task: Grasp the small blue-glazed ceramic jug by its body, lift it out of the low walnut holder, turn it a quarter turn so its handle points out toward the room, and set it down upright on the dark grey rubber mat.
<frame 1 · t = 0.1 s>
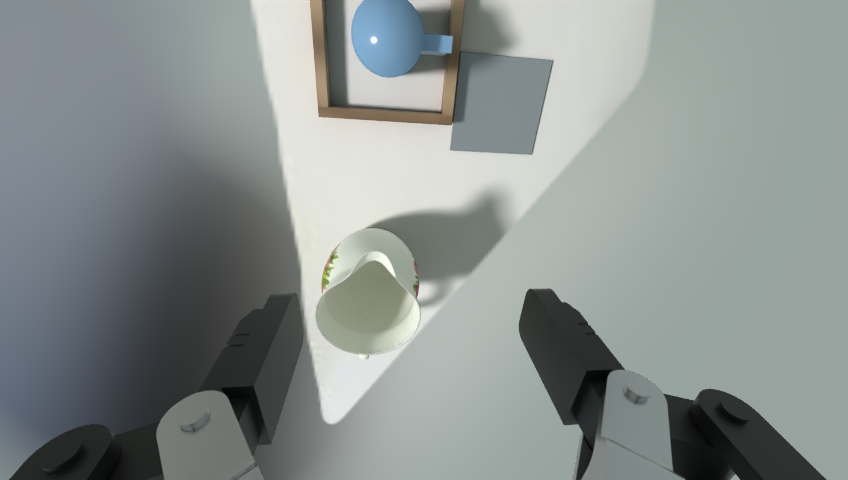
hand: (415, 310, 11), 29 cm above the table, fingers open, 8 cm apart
pitcher: (373, 257, 44), on the table
mat: (498, 107, 36), on the table
holder: (388, 45, 32), on the table
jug: (402, 43, 28), in the holder
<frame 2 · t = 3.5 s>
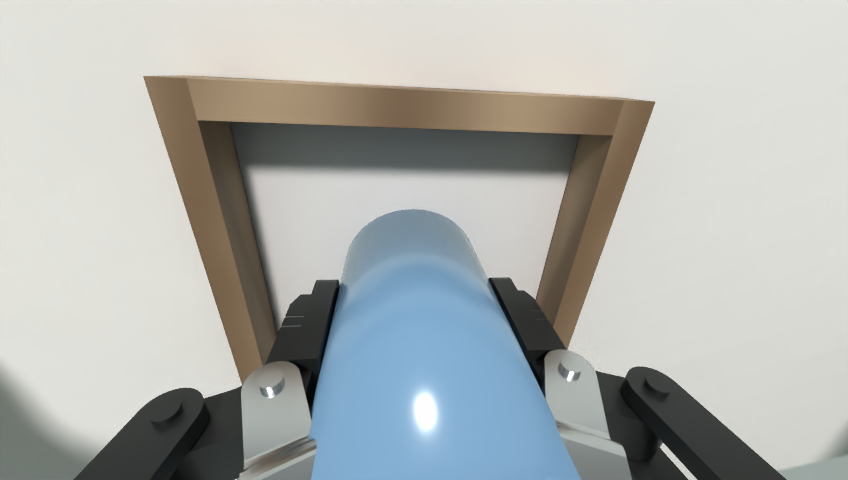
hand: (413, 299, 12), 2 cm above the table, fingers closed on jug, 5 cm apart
holder: (410, 269, 14), on the table
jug: (418, 378, 10), in the holder, touching gripper
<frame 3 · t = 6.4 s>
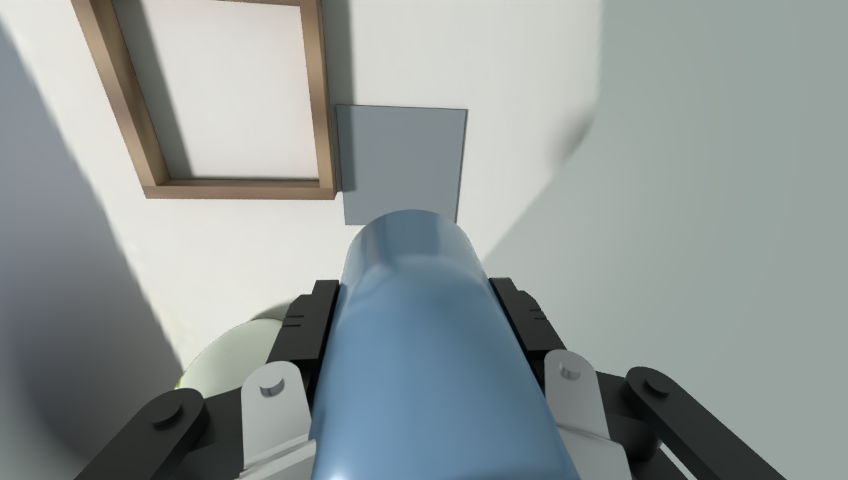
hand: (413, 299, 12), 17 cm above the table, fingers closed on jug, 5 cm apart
pitcher: (271, 346, 35), on the table
mat: (401, 170, 27), on the table
holder: (231, 100, 23), on the table
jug: (418, 378, 10), point 20 cm above the table, touching gripper
when the fingers open (4 cm above the table, at t = 9.8 s): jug drops 1 cm, resting on mat.
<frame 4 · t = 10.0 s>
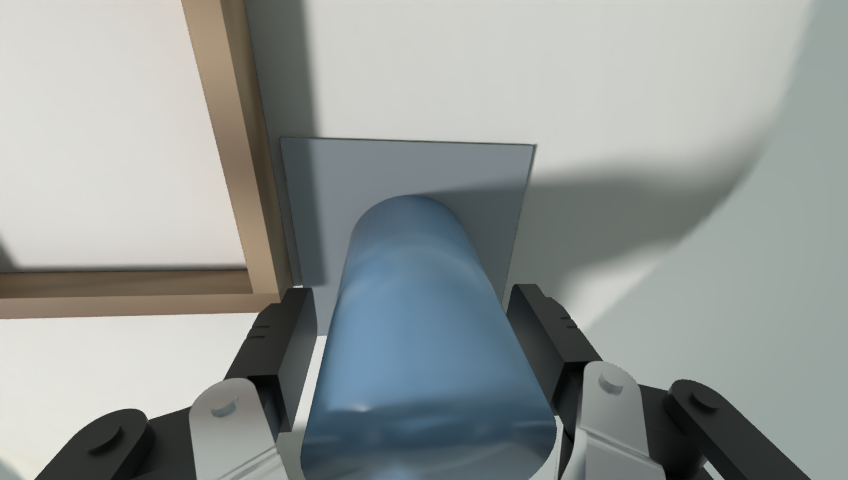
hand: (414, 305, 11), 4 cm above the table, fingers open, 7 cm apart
mat: (408, 250, 15), on the table
holder: (61, 130, 11), on the table
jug: (415, 343, 11), resting on mat
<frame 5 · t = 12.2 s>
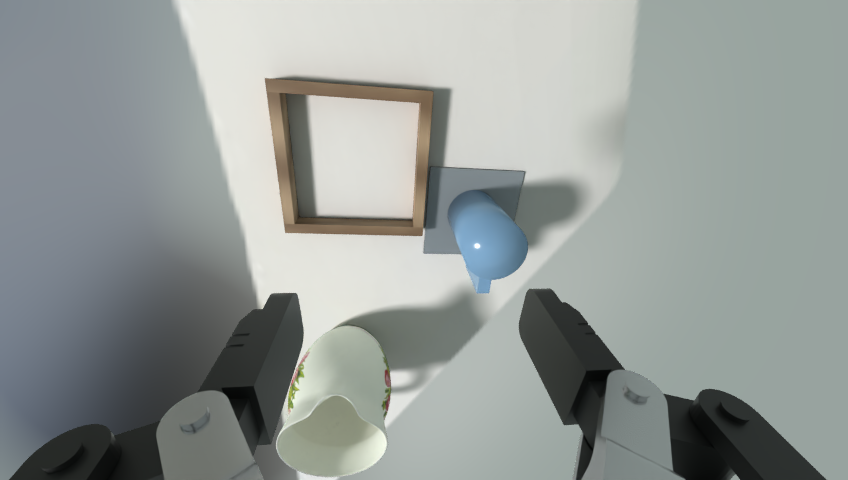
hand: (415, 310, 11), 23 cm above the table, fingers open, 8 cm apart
pitcher: (348, 349, 43), on the table
mat: (471, 213, 35), on the table
holder: (355, 163, 32), on the table
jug: (480, 242, 32), resting on mat
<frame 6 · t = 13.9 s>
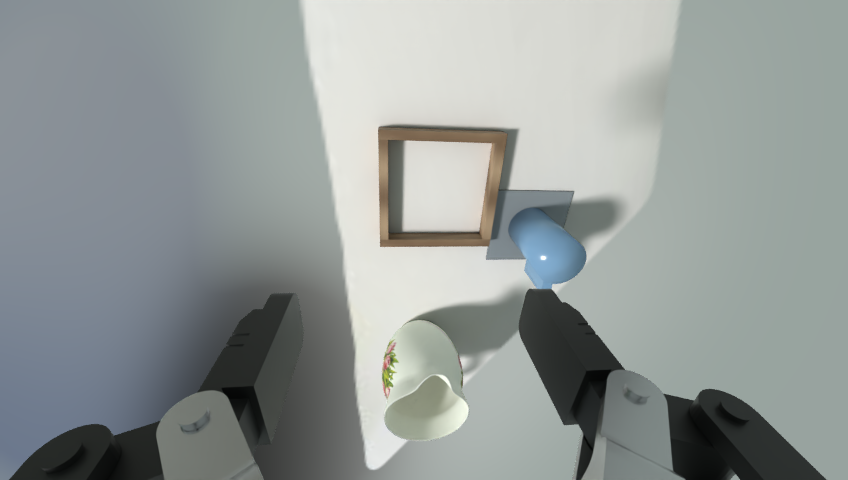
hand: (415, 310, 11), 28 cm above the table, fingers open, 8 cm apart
pitcher: (417, 339, 50), on the table
mat: (527, 226, 42), on the table
holder: (437, 189, 39), on the table
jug: (541, 251, 39), resting on mat
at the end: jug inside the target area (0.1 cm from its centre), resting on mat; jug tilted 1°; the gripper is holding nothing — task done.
